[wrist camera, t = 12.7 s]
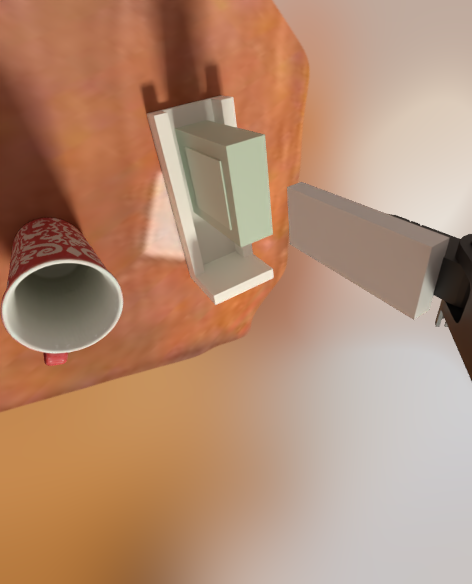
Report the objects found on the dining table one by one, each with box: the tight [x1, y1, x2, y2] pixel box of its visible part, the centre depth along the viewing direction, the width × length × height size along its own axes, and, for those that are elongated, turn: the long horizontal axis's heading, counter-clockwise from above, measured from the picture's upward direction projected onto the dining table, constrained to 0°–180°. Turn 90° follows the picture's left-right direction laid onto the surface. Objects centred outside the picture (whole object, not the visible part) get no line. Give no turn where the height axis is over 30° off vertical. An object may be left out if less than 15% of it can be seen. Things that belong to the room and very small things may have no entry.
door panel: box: [175, 120, 273, 247], centre depth 37 cm, size 10×4×12 cm, turn 9°
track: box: [147, 95, 274, 305], centre depth 41 cm, size 22×9×8 cm, turn 9°
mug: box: [1, 218, 123, 365], centre depth 33 cm, size 13×9×14 cm
